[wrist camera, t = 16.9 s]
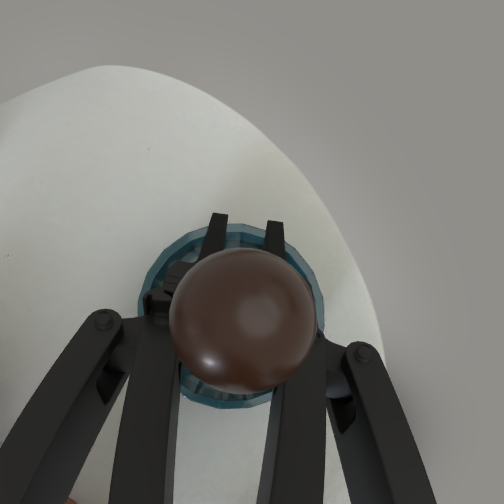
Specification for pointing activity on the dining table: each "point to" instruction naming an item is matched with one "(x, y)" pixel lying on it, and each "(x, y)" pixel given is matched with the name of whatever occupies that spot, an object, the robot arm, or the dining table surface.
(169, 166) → the dining table surface
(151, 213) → the dining table surface
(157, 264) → the bowl
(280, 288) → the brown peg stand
